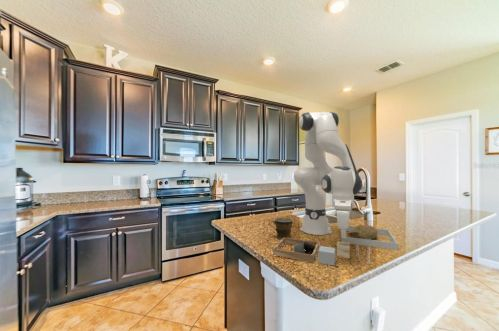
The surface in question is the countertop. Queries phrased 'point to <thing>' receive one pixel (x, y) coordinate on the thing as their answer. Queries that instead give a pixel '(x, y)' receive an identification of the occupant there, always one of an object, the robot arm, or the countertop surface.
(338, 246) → the maple block
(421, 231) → the countertop surface
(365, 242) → the grey square frame
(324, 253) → the slate block
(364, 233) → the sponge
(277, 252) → the oak cake frame
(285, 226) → the ceramic cup
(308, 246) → the chocolate cake
